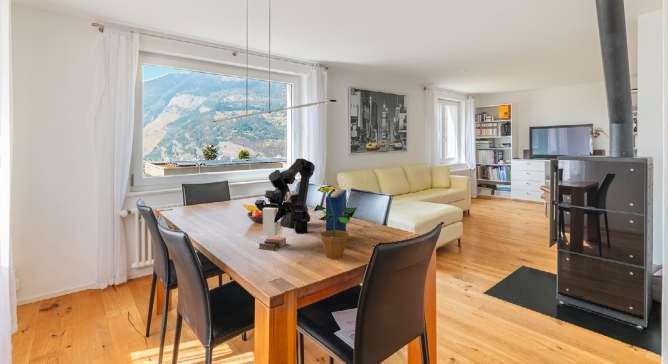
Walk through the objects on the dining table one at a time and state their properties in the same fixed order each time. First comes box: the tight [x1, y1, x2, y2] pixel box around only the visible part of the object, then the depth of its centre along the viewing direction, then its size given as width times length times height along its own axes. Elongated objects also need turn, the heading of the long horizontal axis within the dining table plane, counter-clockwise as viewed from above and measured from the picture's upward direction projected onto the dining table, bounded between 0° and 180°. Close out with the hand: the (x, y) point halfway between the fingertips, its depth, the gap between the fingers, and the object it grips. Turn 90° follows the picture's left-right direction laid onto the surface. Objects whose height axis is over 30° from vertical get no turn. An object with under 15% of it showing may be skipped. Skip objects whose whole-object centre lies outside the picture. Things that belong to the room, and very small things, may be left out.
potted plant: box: [313, 185, 358, 260], centre depth 148 cm, size 18×19×30 cm
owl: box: [279, 191, 299, 230], centre depth 203 cm, size 13×13×20 cm
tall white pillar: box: [262, 207, 278, 236], centre depth 158 cm, size 2×6×12 cm, turn 70°
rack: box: [257, 240, 288, 252], centre depth 161 cm, size 12×9×3 cm
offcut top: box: [265, 235, 287, 243], centre depth 164 cm, size 5×8×2 cm, turn 70°
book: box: [325, 188, 347, 232], centre depth 172 cm, size 22×7×25 cm, turn 168°
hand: (268, 221), depth 157 cm, fingers closed on tall white pillar, 6 cm apart
